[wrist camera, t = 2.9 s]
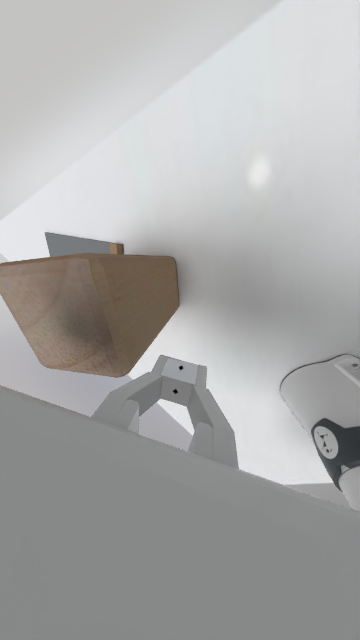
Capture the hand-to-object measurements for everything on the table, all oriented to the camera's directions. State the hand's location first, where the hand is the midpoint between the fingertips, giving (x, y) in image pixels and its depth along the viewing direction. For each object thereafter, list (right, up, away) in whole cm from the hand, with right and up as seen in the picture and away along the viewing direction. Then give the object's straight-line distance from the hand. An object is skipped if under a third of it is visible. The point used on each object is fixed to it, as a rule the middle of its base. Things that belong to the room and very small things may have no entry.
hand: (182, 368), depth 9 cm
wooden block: (-5, +10, +20) cm, 23 cm away
